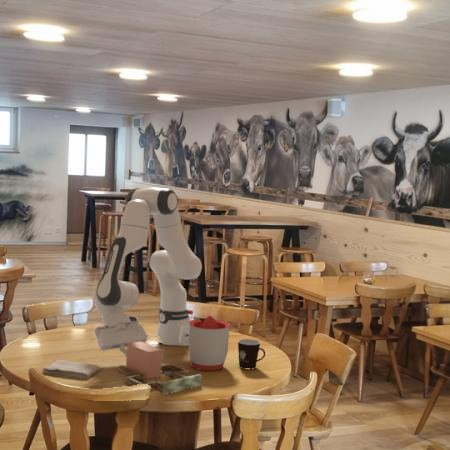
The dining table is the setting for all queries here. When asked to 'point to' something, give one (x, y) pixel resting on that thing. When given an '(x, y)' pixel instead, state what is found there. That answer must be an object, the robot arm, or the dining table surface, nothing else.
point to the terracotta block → (144, 359)
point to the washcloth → (71, 369)
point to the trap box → (169, 386)
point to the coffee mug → (249, 352)
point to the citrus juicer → (208, 343)
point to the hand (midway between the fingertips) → (130, 355)
